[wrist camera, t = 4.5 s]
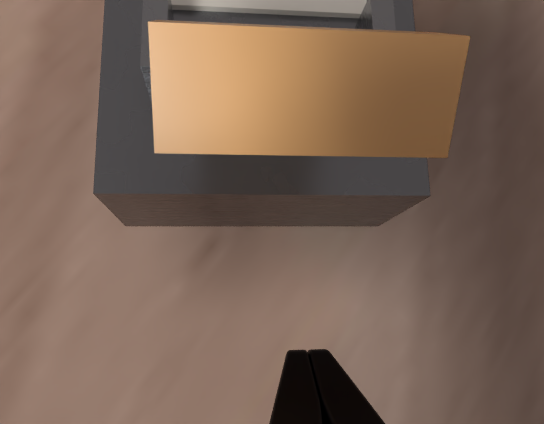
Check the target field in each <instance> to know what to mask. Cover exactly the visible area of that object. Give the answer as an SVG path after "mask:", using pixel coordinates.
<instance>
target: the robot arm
mask: <svg viewBox="0 0 544 424" xmlns="http://www.w3.org/2000/svg"><path fill="white" fill-rule="evenodd" d="M269 424H385V423H384V422H383V420H382V419H381V418H380V416H379V415H378V414H377V412H376V411H375V410H374V409H373V407H372V406H371V405H370V403H369V402H368V401H367V400H366V398H365V397H364V396H363V394H362V393H361V392H360V390H359V389H358V388H357V387H356V385H355V384H354V383H353V381H352V380H351V379H350V377H349V376H348V375H347V374H346V372H345V371H344V370H343V368H342V367H341V366H340V365H339V363H338V362H337V361H336V359H335V358H334V357H333V355H332V354H331V353H330V352H329V351H328V350H326V349H315V350H309V351H308V352H307V351H306V350H289V351H288V352H287V354H286V358H285V362H284V366H283V370H282V374H281V378H280V382H279V386H278V390H277V394H276V399H275V403H274V407H273V411H272V415H271V419H270V423H269Z"/></svg>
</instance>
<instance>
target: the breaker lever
mask: <svg viewBox="0 0 544 424" xmlns="http://www.w3.org/2000/svg"><path fill="white" fill-rule="evenodd" d="M148 33H149V53H150V74H151V94H152V114H153V135H154V153H165V154H228V155H291V156H355V157H418V158H448V152H449V147H450V142H451V137H452V131H453V126H454V121H455V115H456V110H457V105H458V100H459V94H460V89H461V84H462V78H463V73H464V68H465V63H466V57H467V52H468V47H469V41H470V36H466V35H457V34H448V33H437V32H415V31H393V30H371V29H349V28H326V27H304V26H282V25H260V24H238V23H216V22H194V21H171V20H154V21H149V22H148Z"/></svg>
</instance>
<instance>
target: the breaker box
mask: <svg viewBox="0 0 544 424" xmlns="http://www.w3.org/2000/svg"><path fill="white" fill-rule="evenodd" d="M154 20H171V21H194V22H216V23H238V24H260V25H282V26H304V27H326V28H349V29H371V30H393V31H415V25H414V14H413V3H412V0H105V6H104V23H103V40H102V56H101V73H100V90H99V107H98V123H97V140H96V157H95V174H94V191H93V194H94V195H95V196H96V197H97V198H98V199H99V200H100V201H101V202H102V203H103V204H104V205H105V206H106V207H107V208H108V209H109V210H110V211H111V212H112V213H113V214H114V215H115V216H116V217H117V218H118V219H119V220H120V221H121V222H122V223H123V224H124V225H125V226H379V225H381V224H383V223H384V222H386V221H388V220H390V219H391V218H393V217H395V216H396V215H398V214H400V213H402V212H403V211H405V210H407V209H408V208H410V207H412V206H414V205H415V204H417V203H419V202H420V201H422V200H424V199H426V198H427V197H429V196H430V186H429V176H428V165H427V158H418V157H355V156H291V155H228V154H165V153H154V135H153V114H152V94H151V74H150V53H149V33H148V22H149V21H154Z"/></svg>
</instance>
